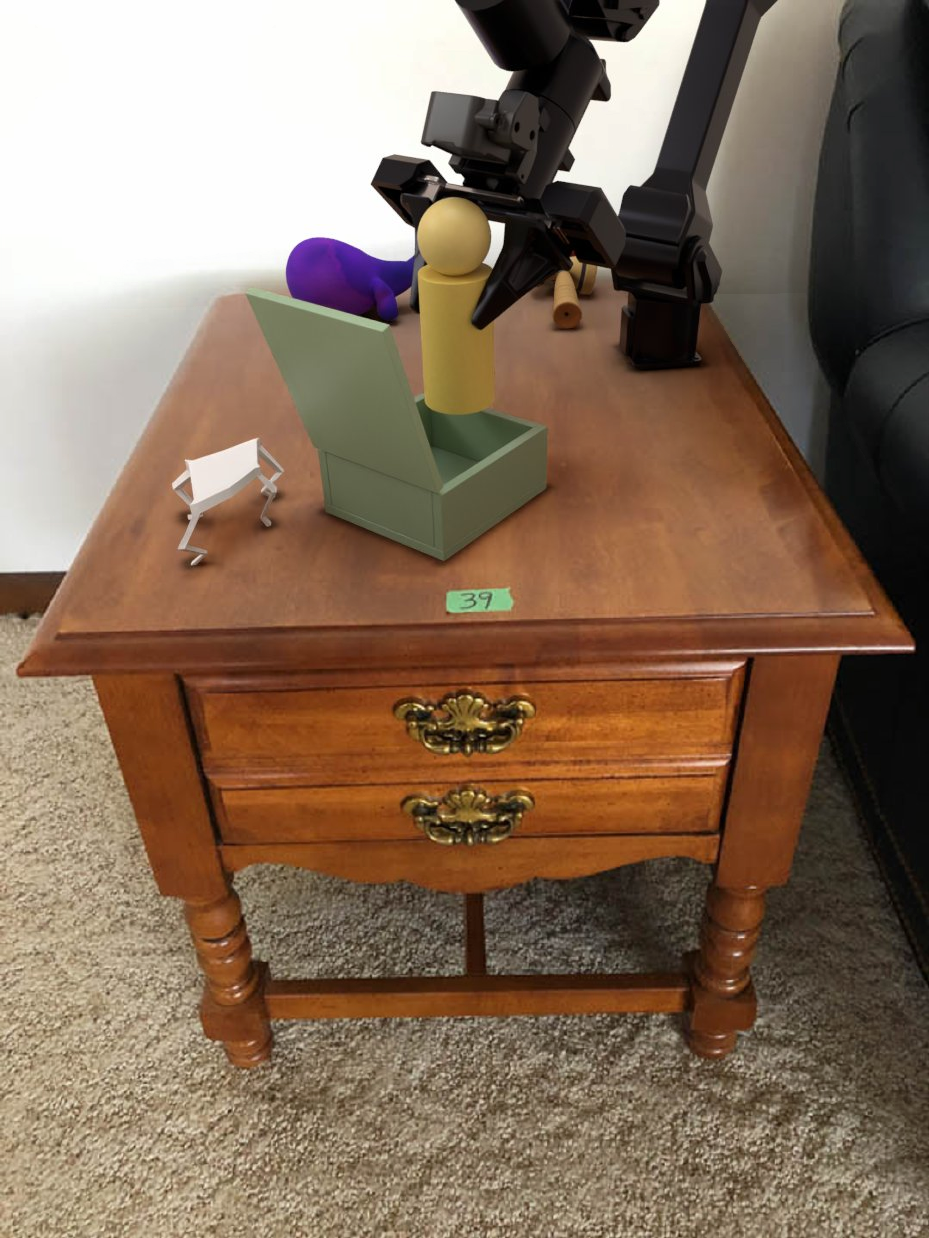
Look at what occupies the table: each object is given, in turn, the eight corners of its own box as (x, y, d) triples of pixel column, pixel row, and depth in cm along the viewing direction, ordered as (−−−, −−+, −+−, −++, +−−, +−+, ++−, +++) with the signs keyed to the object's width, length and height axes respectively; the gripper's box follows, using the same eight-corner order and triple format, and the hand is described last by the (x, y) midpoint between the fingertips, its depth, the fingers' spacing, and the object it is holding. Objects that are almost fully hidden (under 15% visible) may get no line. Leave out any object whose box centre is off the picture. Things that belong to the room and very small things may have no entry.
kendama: (611, 339, 107) (598, 260, 120) (603, 283, 102) (591, 207, 115) (537, 353, 108) (532, 273, 121) (527, 298, 104) (522, 221, 116)
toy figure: (446, 380, 79) (438, 185, 71) (506, 392, 77) (505, 193, 69) (411, 407, 76) (398, 204, 67) (473, 420, 74) (468, 213, 65)
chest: (431, 448, 86) (428, 389, 83) (546, 488, 80) (548, 426, 77) (325, 512, 78) (317, 449, 75) (444, 561, 72) (441, 495, 69)
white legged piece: (186, 492, 81) (174, 435, 78) (292, 490, 81) (284, 433, 78) (147, 579, 71) (131, 518, 68) (267, 577, 71) (256, 516, 68)
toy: (419, 305, 116) (284, 303, 113) (424, 216, 111) (282, 211, 108) (431, 333, 109) (288, 331, 106) (437, 240, 104) (287, 235, 101)
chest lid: (251, 286, 65) (244, 293, 64) (389, 324, 59) (382, 331, 58) (319, 441, 75) (313, 447, 74) (443, 487, 69) (437, 493, 68)
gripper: (377, 26, 70) (280, 234, 70) (613, 45, 60) (502, 285, 60) (454, 131, 79) (369, 313, 79) (668, 161, 70) (572, 368, 70)
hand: (444, 319), depth 72 cm, fingers closed on toy figure, 5 cm apart
